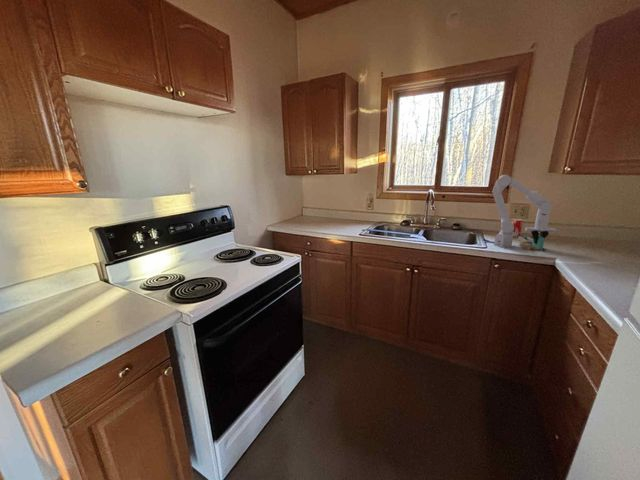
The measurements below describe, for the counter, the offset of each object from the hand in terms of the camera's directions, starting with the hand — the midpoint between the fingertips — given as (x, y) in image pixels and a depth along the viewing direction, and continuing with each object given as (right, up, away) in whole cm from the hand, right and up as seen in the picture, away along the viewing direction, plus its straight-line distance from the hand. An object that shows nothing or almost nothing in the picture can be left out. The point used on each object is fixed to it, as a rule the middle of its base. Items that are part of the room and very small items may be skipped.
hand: (537, 243), depth 161 cm
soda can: (+10, +5, +32) cm, 34 cm away
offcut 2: (-7, -3, 0) cm, 7 cm away
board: (0, -2, +1) cm, 2 cm away
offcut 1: (-5, -2, +5) cm, 7 cm away
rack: (-2, -4, +2) cm, 5 cm away
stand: (+4, 0, +14) cm, 15 cm away
